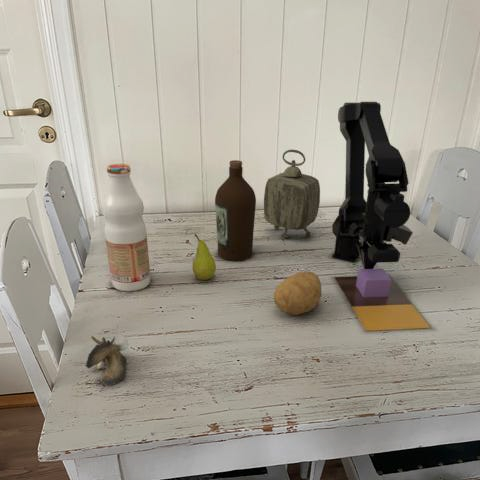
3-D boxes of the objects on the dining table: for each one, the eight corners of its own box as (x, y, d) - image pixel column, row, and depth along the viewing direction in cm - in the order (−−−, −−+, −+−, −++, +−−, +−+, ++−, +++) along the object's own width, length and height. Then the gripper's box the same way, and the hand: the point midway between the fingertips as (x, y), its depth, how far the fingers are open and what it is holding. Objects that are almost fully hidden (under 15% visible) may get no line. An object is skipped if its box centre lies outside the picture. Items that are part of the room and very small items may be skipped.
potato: (329, 301, 112) (333, 270, 108) (304, 329, 102) (308, 296, 98) (291, 291, 116) (293, 260, 112) (263, 317, 106) (265, 284, 102)
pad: (352, 307, 110) (352, 306, 110) (411, 305, 111) (411, 304, 111) (366, 331, 102) (366, 330, 102) (430, 328, 103) (430, 327, 103)
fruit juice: (114, 294, 113) (98, 173, 99) (109, 277, 121) (93, 162, 106) (154, 288, 116) (144, 169, 102) (146, 272, 124) (136, 159, 109)
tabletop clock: (316, 236, 146) (324, 150, 133) (302, 246, 140) (310, 156, 127) (274, 226, 153) (278, 143, 140) (259, 235, 146) (262, 149, 133)
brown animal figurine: (81, 353, 91) (76, 375, 83) (98, 322, 90) (95, 340, 82) (118, 370, 94) (117, 392, 86) (136, 339, 92) (136, 359, 84)
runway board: (334, 277, 123) (334, 277, 123) (388, 276, 124) (388, 275, 124) (352, 307, 110) (352, 306, 110) (411, 305, 111) (411, 304, 111)
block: (355, 285, 119) (358, 269, 116) (379, 285, 119) (382, 268, 117) (363, 297, 114) (366, 280, 111) (388, 296, 114) (391, 279, 112)
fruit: (220, 278, 121) (220, 233, 115) (203, 286, 118) (202, 240, 111) (204, 271, 125) (203, 227, 118) (187, 279, 121) (185, 233, 115)
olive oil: (245, 244, 140) (246, 155, 127) (260, 258, 132) (264, 164, 119) (210, 250, 137) (208, 158, 124) (224, 265, 128) (223, 168, 115)
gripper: (429, 225, 104) (414, 290, 112) (396, 198, 120) (385, 257, 128) (378, 226, 103) (367, 292, 111) (352, 199, 119) (344, 258, 127)
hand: (367, 274), depth 119 cm, fingers closed
